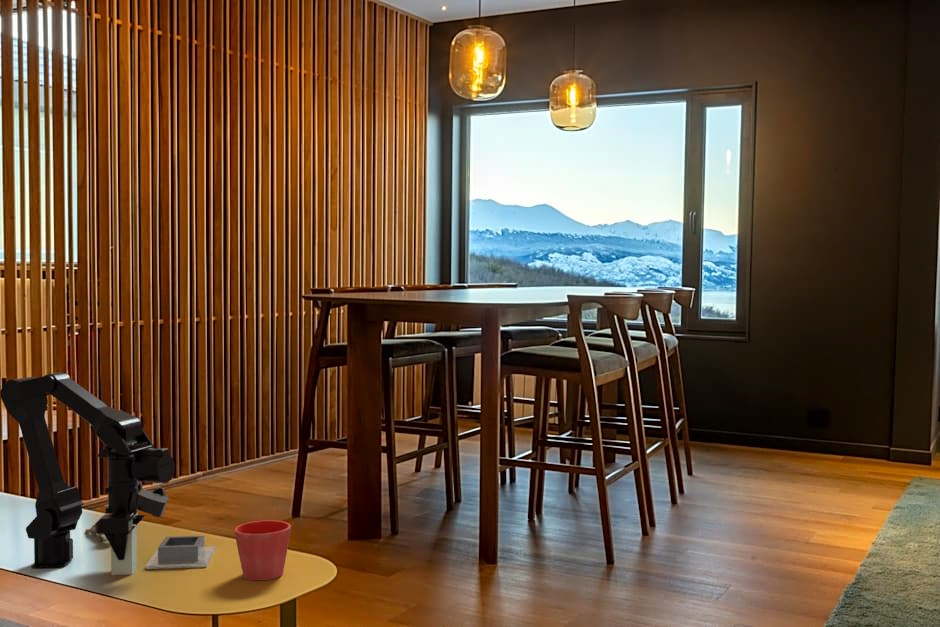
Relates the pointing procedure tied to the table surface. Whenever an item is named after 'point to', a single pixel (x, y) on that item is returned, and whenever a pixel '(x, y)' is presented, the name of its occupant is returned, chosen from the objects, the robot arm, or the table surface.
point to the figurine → (94, 531)
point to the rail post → (126, 557)
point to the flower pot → (262, 548)
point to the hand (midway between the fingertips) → (124, 556)
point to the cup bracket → (181, 553)
